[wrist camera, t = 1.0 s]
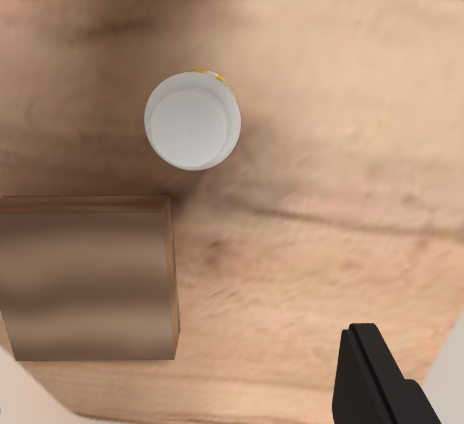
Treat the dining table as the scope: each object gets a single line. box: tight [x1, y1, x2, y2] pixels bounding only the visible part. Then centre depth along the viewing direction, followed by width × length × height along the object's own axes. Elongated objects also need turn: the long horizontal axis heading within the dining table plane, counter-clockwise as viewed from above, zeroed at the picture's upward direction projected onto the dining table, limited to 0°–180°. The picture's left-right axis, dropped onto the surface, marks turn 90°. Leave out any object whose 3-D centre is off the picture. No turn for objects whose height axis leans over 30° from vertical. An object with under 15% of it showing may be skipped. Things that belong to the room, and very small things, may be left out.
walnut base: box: [0, 195, 180, 361], centre depth 31 cm, size 14×14×4 cm
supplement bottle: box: [144, 70, 241, 170], centre depth 23 cm, size 6×6×10 cm
